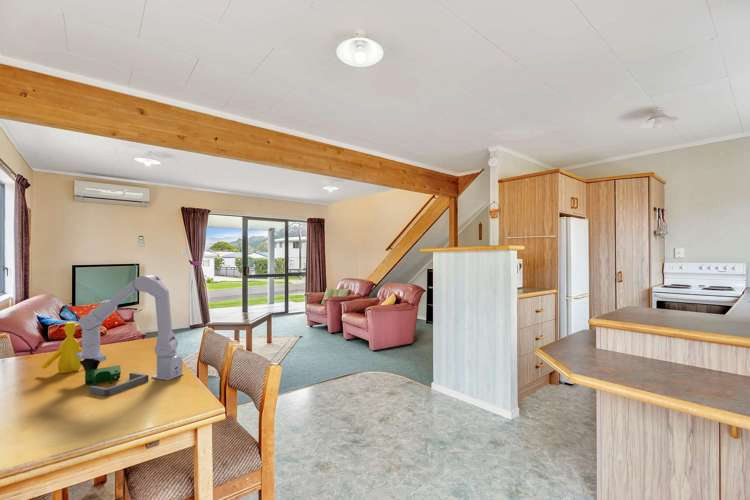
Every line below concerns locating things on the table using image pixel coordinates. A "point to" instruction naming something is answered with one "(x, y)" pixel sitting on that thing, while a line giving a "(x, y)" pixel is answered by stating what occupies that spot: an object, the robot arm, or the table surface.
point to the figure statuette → (67, 352)
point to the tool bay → (120, 385)
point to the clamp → (102, 375)
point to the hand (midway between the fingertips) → (90, 376)
